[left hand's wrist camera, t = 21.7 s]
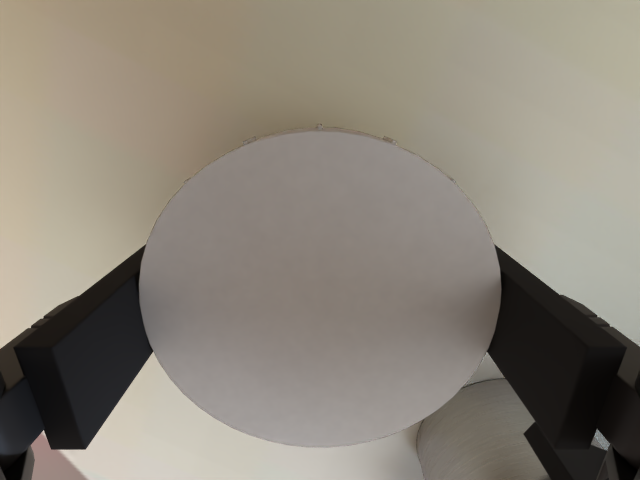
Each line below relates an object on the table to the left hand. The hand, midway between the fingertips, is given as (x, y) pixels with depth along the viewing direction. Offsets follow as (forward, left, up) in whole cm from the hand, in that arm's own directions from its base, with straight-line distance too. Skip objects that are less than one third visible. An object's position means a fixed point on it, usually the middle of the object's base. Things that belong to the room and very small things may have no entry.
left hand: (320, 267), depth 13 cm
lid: (0, 0, +3) cm, 3 cm away
